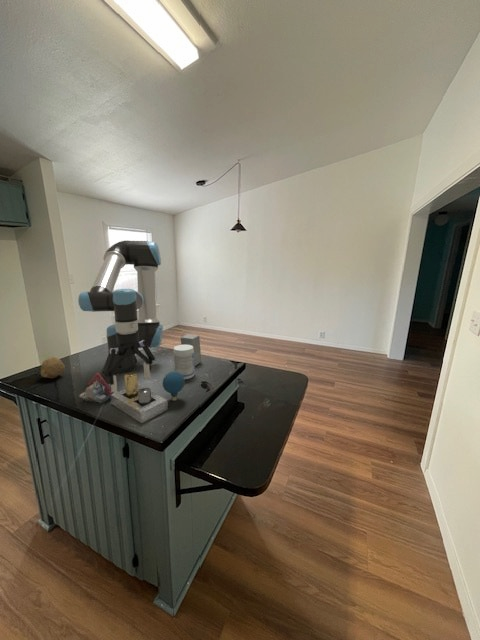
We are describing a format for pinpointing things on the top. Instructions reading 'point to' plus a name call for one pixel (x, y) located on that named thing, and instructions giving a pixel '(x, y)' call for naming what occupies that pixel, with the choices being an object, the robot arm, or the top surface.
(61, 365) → the natural sponge
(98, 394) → the grey red irregular piece
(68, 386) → the top surface
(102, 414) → the top surface
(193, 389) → the top surface
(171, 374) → the light bulb
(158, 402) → the jig
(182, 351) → the supplement tub
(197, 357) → the skincare box
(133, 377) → the brass bushing
